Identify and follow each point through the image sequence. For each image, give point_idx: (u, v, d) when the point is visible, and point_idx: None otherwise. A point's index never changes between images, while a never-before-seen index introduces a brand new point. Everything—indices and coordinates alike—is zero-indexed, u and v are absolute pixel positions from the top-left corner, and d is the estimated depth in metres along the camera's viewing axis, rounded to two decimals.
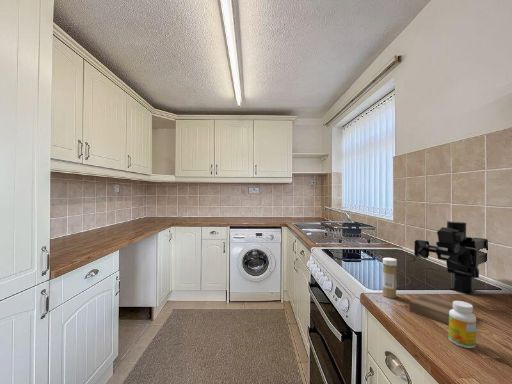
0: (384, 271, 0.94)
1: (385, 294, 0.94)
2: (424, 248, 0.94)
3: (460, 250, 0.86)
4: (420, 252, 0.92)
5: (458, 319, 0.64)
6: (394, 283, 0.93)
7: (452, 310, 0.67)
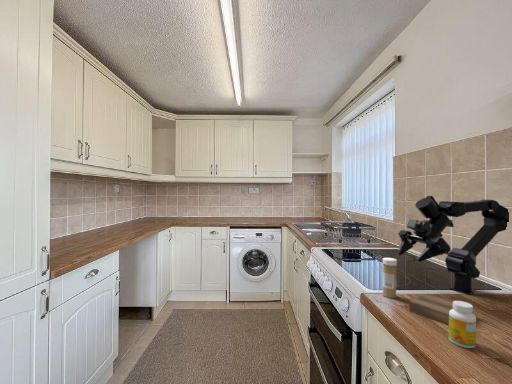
0: (384, 271, 0.94)
1: (385, 294, 0.94)
2: (404, 243, 1.01)
3: (427, 245, 0.91)
4: (401, 252, 1.01)
5: (458, 319, 0.64)
6: (394, 283, 0.93)
7: (452, 310, 0.67)
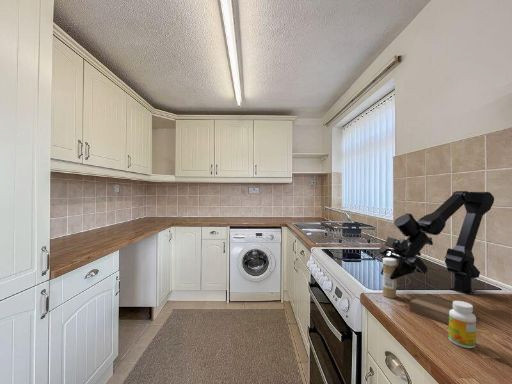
0: (384, 271, 0.94)
1: (385, 294, 0.94)
2: None
3: (399, 263, 0.92)
4: None
5: (458, 319, 0.64)
6: (394, 283, 0.93)
7: (452, 310, 0.67)
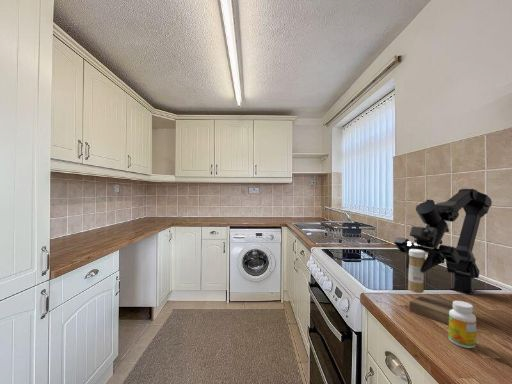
0: (412, 264, 0.85)
1: (413, 289, 0.85)
2: None
3: (429, 253, 0.84)
4: None
5: (458, 319, 0.64)
6: (423, 276, 0.85)
7: (452, 310, 0.67)
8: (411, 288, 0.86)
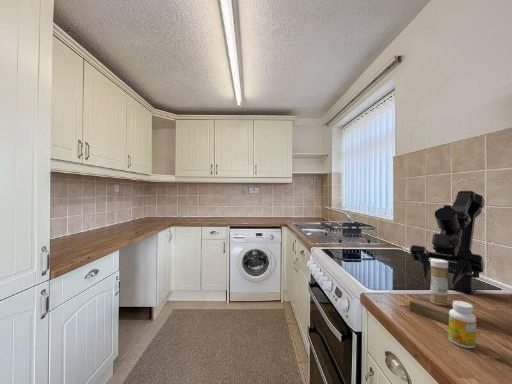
0: (437, 275, 0.80)
1: (439, 302, 0.80)
2: (427, 262, 0.85)
3: (459, 263, 0.79)
4: (426, 274, 0.84)
5: (458, 319, 0.64)
6: None
7: (452, 310, 0.67)
8: (436, 301, 0.81)
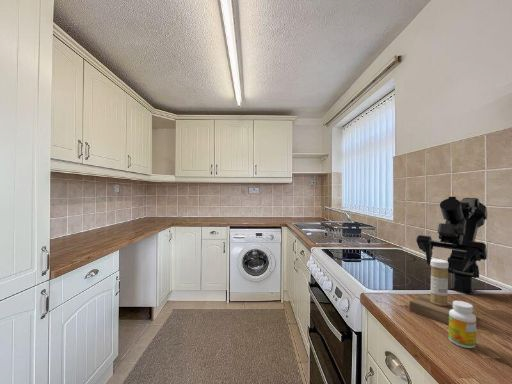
0: (437, 276, 0.80)
1: (439, 302, 0.80)
2: (429, 250, 0.90)
3: (468, 251, 0.82)
4: (429, 261, 0.88)
5: (458, 319, 0.64)
6: None
7: (452, 310, 0.67)
8: (436, 301, 0.80)
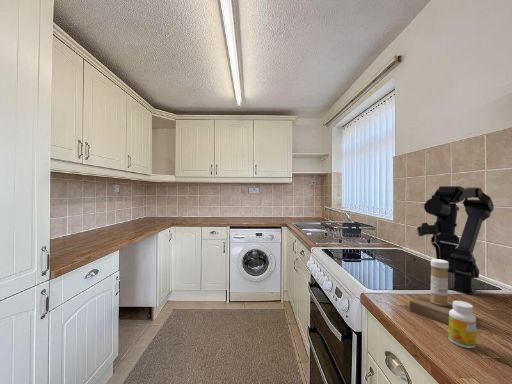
0: (437, 276, 0.80)
1: (439, 302, 0.80)
2: (437, 249, 0.98)
3: (437, 245, 0.89)
4: None
5: (458, 319, 0.64)
6: (447, 288, 0.80)
7: (452, 310, 0.67)
8: (436, 301, 0.80)
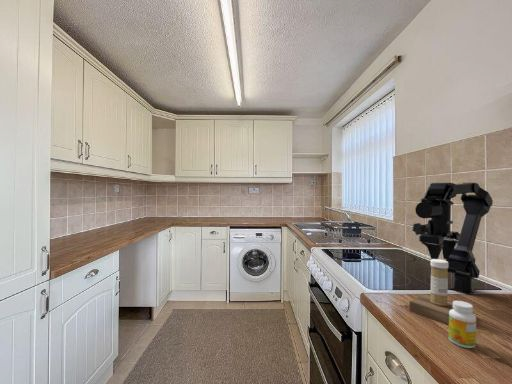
0: (437, 276, 0.80)
1: (439, 302, 0.80)
2: (442, 244, 0.98)
3: None
4: (445, 255, 0.97)
5: (458, 319, 0.64)
6: None
7: (452, 310, 0.67)
8: (436, 301, 0.80)
